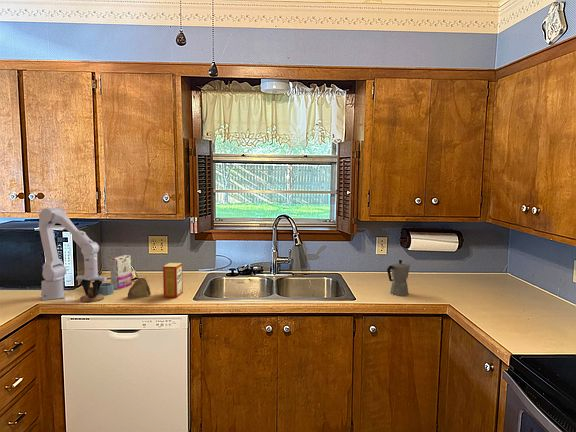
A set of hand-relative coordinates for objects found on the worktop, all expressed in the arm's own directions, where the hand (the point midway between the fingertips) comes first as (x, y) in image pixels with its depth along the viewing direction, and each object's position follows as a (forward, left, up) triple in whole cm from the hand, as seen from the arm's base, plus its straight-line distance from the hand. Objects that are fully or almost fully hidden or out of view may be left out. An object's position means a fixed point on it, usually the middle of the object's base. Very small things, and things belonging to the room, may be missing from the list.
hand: (91, 295), depth 202 cm
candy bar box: (+15, +19, -2) cm, 24 cm away
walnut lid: (0, 0, -2) cm, 2 cm away
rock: (+21, -4, -2) cm, 21 cm away
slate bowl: (+6, +9, -2) cm, 11 cm away
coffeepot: (+143, -55, -2) cm, 153 cm away
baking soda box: (+37, -9, -2) cm, 38 cm away
